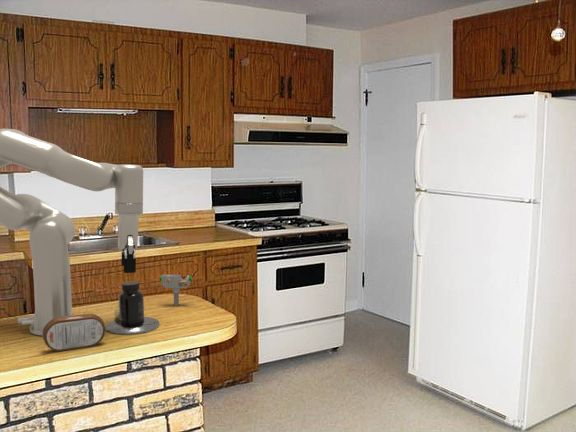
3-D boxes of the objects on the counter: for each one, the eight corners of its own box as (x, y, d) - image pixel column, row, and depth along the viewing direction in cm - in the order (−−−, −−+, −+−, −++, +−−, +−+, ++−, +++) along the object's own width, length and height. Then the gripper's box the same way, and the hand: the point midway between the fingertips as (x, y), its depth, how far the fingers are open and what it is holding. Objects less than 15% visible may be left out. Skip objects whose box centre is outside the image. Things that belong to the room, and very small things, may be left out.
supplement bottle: (137, 319, 171) (136, 279, 169) (148, 324, 166) (147, 283, 164) (115, 323, 166) (114, 282, 165) (126, 329, 161) (125, 287, 160)
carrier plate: (106, 337, 156) (105, 324, 156) (104, 321, 170) (104, 309, 170) (162, 331, 161) (162, 319, 161) (156, 316, 175) (156, 305, 175)
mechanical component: (191, 307, 186) (190, 276, 185) (159, 306, 186) (158, 276, 185) (192, 304, 189) (192, 274, 188) (161, 304, 189) (161, 274, 188)
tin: (104, 341, 153) (103, 310, 152) (107, 345, 150) (106, 313, 149) (43, 350, 146) (41, 318, 145) (44, 354, 143) (42, 321, 142)
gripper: (113, 205, 169) (113, 263, 171) (116, 212, 152) (116, 276, 154) (140, 205, 171) (139, 262, 173) (145, 212, 155) (144, 275, 157)
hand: (128, 268), depth 164 cm, fingers open, 9 cm apart
